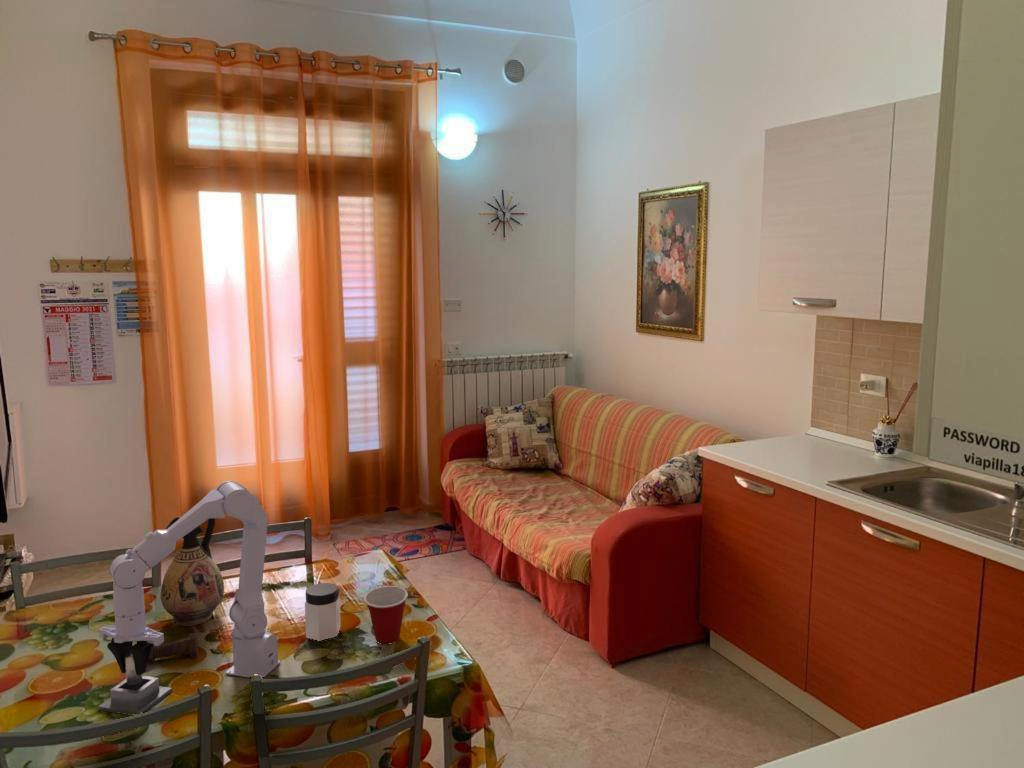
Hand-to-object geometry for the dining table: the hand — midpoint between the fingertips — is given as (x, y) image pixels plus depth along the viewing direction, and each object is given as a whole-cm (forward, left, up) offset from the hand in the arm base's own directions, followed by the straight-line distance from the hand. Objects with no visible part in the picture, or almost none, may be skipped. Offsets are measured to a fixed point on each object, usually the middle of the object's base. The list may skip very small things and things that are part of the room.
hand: (133, 672), depth 160 cm
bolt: (+7, -17, -7) cm, 19 cm away
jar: (-24, -38, -7) cm, 45 cm away
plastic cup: (-41, -39, -7) cm, 57 cm away
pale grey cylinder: (0, 0, -2) cm, 2 cm away
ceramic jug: (+13, -38, -7) cm, 41 cm away
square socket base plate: (0, 0, -6) cm, 6 cm away
